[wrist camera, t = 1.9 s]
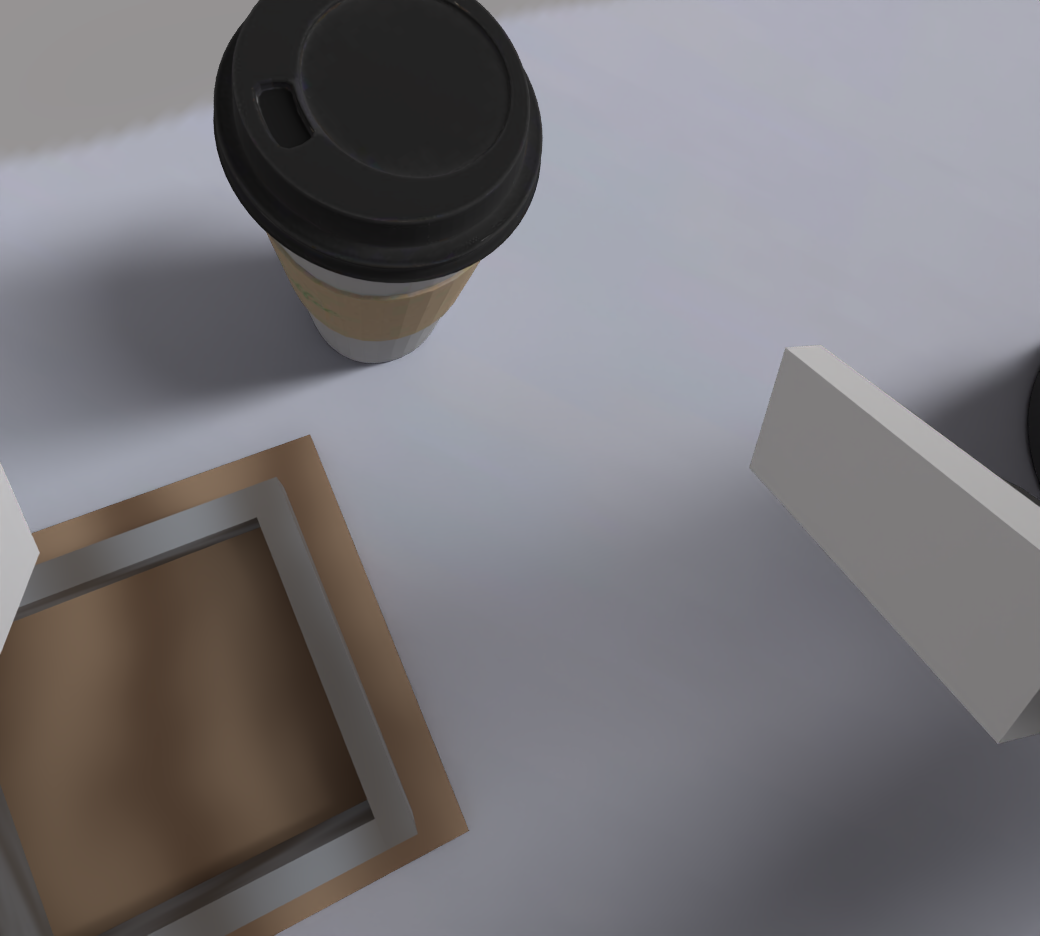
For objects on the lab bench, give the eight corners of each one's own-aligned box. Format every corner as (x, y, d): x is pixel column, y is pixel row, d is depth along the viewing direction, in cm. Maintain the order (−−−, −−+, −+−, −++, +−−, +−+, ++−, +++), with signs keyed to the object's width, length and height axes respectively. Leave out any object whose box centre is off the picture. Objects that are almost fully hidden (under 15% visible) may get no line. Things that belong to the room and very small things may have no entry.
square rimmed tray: (311, 438, 32) (304, 418, 28) (466, 824, 31) (480, 856, 27) (-151, 603, 27) (-230, 604, 24) (9, 1068, 26) (-49, 1147, 22)
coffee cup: (224, 310, 32) (113, 78, 18) (361, 172, 35) (362, -131, 20) (391, 442, 33) (416, 323, 18) (513, 297, 35) (621, 91, 21)
